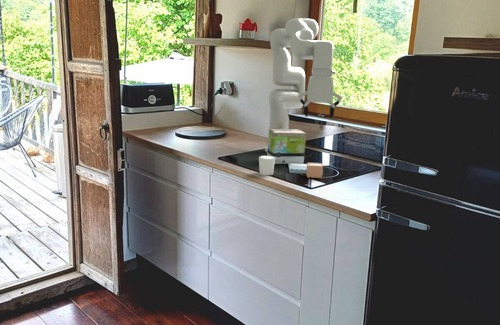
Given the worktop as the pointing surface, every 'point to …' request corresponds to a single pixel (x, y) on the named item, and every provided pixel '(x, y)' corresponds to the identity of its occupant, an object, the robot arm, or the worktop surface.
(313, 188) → the worktop surface
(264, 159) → the shot glass
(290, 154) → the tea box
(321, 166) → the cardboard box
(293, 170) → the blue microchip card
